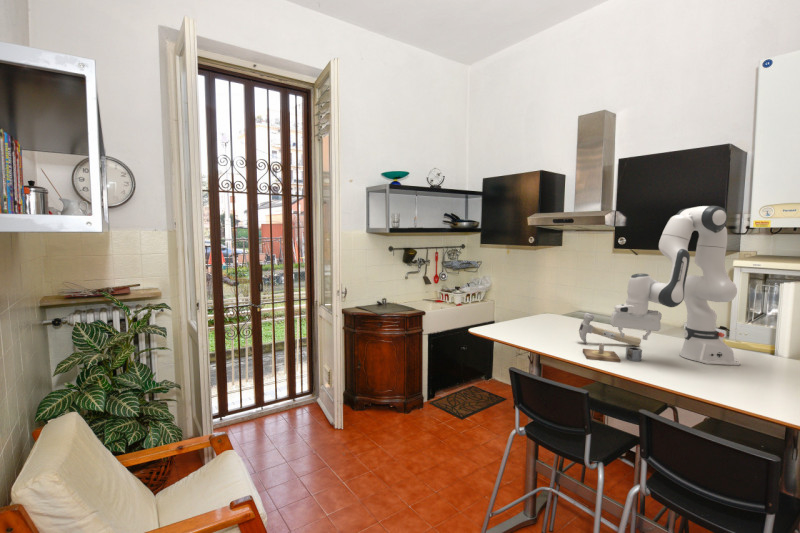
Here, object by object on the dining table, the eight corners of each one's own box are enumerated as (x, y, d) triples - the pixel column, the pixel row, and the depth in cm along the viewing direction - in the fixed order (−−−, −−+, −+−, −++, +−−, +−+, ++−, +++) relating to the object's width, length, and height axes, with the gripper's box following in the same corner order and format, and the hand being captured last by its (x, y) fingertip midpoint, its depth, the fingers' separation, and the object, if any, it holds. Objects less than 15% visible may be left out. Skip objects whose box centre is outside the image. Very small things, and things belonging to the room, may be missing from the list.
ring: (638, 358, 191) (639, 347, 191) (642, 361, 185) (643, 351, 185) (624, 356, 193) (625, 346, 192) (627, 360, 187) (628, 349, 186)
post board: (614, 354, 196) (615, 341, 195) (620, 362, 184) (621, 348, 184) (582, 351, 199) (583, 338, 199) (586, 358, 188) (587, 345, 187)
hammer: (640, 327, 213) (583, 311, 215) (645, 329, 208) (587, 313, 210) (631, 355, 214) (575, 339, 216) (635, 358, 210) (578, 342, 212)
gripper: (659, 309, 187) (656, 339, 188) (610, 305, 192) (608, 334, 194) (664, 312, 181) (661, 342, 182) (614, 307, 186) (611, 337, 188)
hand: (633, 338), depth 188 cm, fingers open, 8 cm apart
